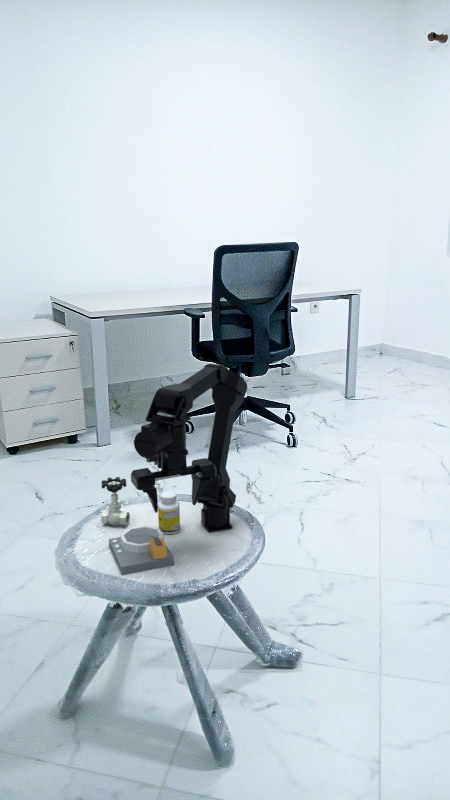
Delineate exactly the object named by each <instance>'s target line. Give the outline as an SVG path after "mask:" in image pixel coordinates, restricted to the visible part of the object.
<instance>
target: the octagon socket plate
mask: <svg viewBox="0 0 450 800" xmlns="http://www.w3.org/2000/svg"><path fill="white" fill-rule="evenodd" d="M154 537H159V539H160V538H162V539H163V540H164V541H165V534H163V533H162V532H161V530H160V529H159V527H155V526H149V525H140V526H134V527H129V528H127V529H126V530H125V531H124V532H122V533H121V534H120V535H119V537H112V538H108V548H109V550H110V552H111V554H112V556H113V558H114V561H115V563H116V566H117V568H118V570H119V571H120V574H121V576H125V575H130V574H134V573H135V574H136V573H141V572H144V571H151V570H156V569H159V568H164V567H165V568H167V567H169V566H170V567H172V566H175V557H174V555H173V554H172V552H171V551H170V548H169V547H168V546H167V557H165V558H159V559H153V557H152V555H151V553H150V540H154Z"/></svg>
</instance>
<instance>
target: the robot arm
mask: <svg viewBox="0 0 450 800" xmlns="http://www.w3.org/2000/svg"><path fill="white" fill-rule="evenodd" d="M210 389H211V390H212V391H211V399H212V401H213V404H214V407H215V412H214V418H213V425H212V431H211V436H210V443H209V447H208V449H209V450H208V453H207V457H205V458H198V459H193V460H192V461H191V465H187V463H188V462H187V455H189V450H188V449H187V434H186V433H187V432H186V431H187V430H186V429H187V428H186V427H187V426H186V422H189V421H190V420H191V417H190V416H189V415H188V414H187V413H188V412H190V411H191V410H192V408H193V407H194V401H195V400H196V399H198V398H200V396H202V395H203V394H205V393H206V392H207V391H209V390H210ZM247 391H248V383H247V382H246V380H245V379H244V377H243V376H241V375H239V374H238V373H236V372H233V371H231V370H230V369H229V368H228V367H226V366H225V365H223V364H218V363H208V364H205V365H204V367H203V368H201V369H200V370H199V371H197V372H196V373H194V374H192V375H191V376H190V377H188V378H186V379H185V380H183V381H181V382H180V383H175V384H167V385H165V386H162V387H159V388H158V389H157V390H156V391H155V394H154V395H153V398H152V400H151V404H150V407H149V409H148V412H147V415H146V417H145V421H146V422H148V424H143V425H141V426H140V432H138V433H137V434H136V435H135V437H134V440H133V445H134V450H135V452H137V454H138V455H139V456H140V457H142V458H143V459H145V461H146V463H154V466H156V467H157V468H158V469H160V470H159V471H158V470H157V471H151V470H150V468H148V467H143V468H139V469H133V470H132V471H131V473H130V482H131V483H132V485H133V486H134V487H135V489H136V490H138V491H142V492H143V493H146V494H147V497H148V499H149V502H150V504H151V506H152V508H153V511H154V513H156V514H158V504H159V502H158V489H157V487H156V486H155V485H156V481H161V480H167V479H168V480H169V479H173V478H174V479H175V478H178V477H184V476H189V475H191V481H192V483H191V501H192V502H191V503H192V505H193V506H196V505H197V503H198V504H202V508H201V509H200V516H201V518H200V523H201V525H202V526H203V527H204V528H205V529H206V531H207V532H208V533H212V532H219V531H224V530H228V529H229V530H230V529H233V525H232V524H231V518H230V517H231V509H233V508H234V505H235V503H236V501H237V500H236V499H237V495H236V494H235V492H233V490H232V488H231V487H230V485H231V478H230V475H229V472H228V471H227V462H228V457H229V451H230V444H231V440H232V439H231V438H232V434H233V433H232V432H233V427H234V421H235V416H236V415H235V414H236V412H237V410H238V409H239V408H240V407H241V405H242V404H243V403H244V401H245V396H246V394H247ZM162 414H163V415H162Z"/></svg>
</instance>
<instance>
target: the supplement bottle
mask: <svg viewBox="0 0 450 800" xmlns="http://www.w3.org/2000/svg"><path fill="white" fill-rule="evenodd" d="M159 498H160V501H159V502H158V512H157V516H158V518H157V519H158V528H159V529H160V530H161V532H162V533H163V535H174V534H177V533H179V532H180V530H181V514H180V512H181V511H180V502H179V501H178V500H177V493H176V492H173V491H164V492H162V493H160V497H159Z"/></svg>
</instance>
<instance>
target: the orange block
mask: <svg viewBox="0 0 450 800" xmlns="http://www.w3.org/2000/svg"><path fill="white" fill-rule="evenodd" d="M167 547H168V545H167V544H166V542H165V539H164V540H163V539H162V538H160V539H159V537H154V540H150V553H151V555H152V557H153V559H159V558H165V557H167Z"/></svg>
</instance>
